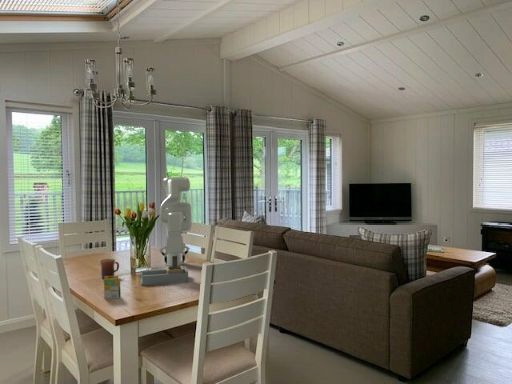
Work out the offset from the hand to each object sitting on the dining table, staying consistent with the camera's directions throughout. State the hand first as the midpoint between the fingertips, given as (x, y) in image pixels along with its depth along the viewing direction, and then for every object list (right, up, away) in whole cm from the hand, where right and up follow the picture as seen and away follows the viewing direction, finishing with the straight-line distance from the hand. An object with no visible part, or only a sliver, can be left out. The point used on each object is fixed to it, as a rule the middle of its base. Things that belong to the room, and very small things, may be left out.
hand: (174, 262), depth 233 cm
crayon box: (-25, -12, -32) cm, 43 cm away
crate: (0, -9, +1) cm, 9 cm away
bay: (-6, -10, -1) cm, 12 cm away
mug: (-40, -10, +7) cm, 42 cm away
